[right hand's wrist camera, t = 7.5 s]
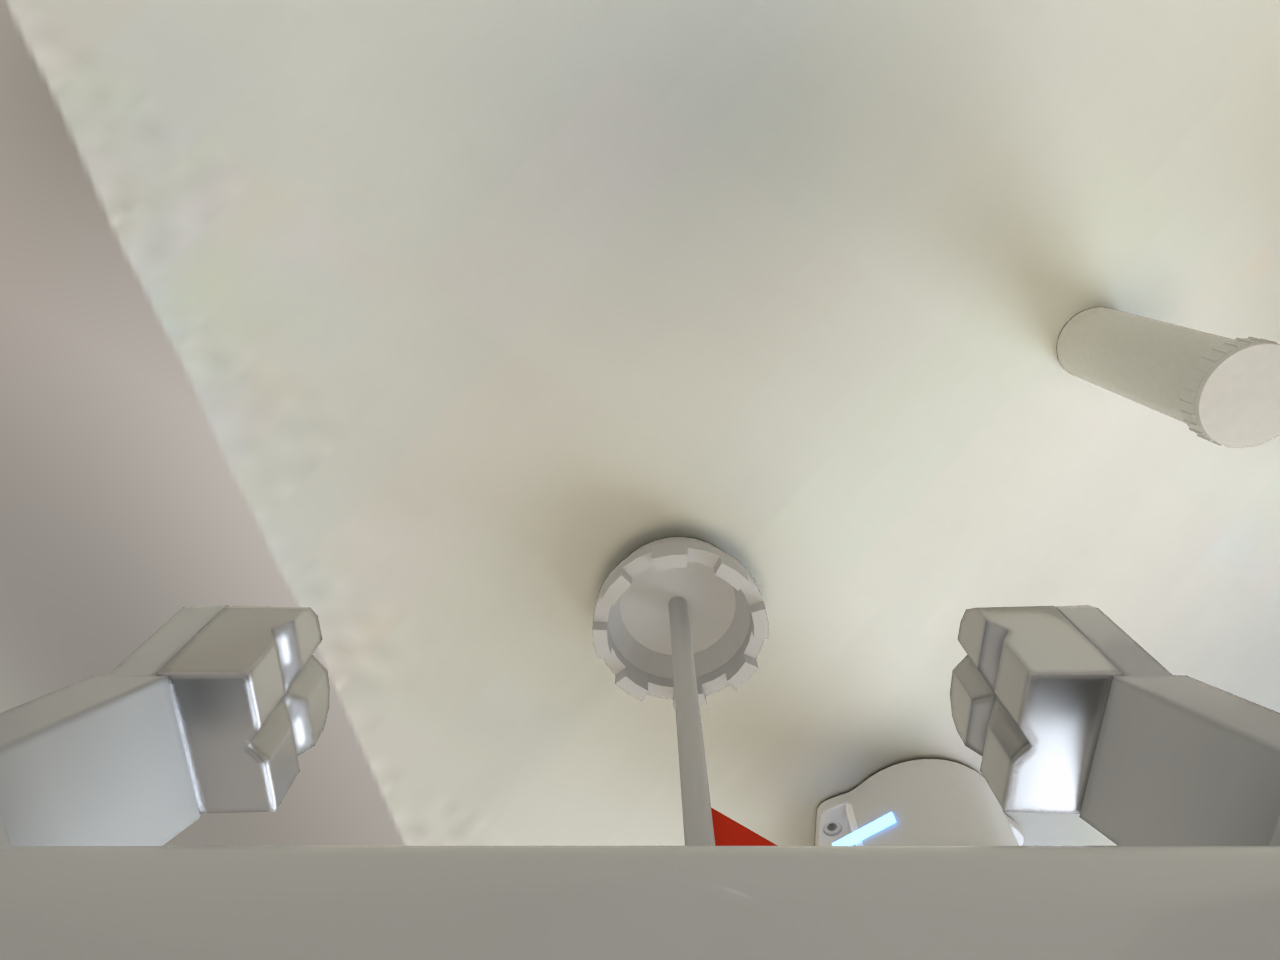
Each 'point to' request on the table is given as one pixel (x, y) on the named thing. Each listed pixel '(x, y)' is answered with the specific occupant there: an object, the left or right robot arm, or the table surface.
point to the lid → (1234, 393)
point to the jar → (1133, 355)
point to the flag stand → (684, 652)
